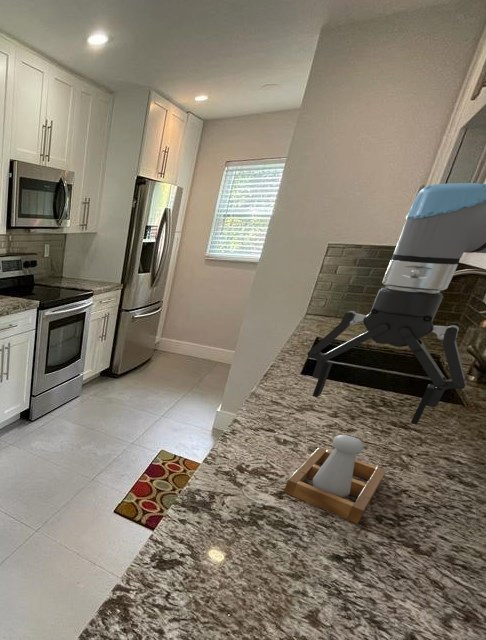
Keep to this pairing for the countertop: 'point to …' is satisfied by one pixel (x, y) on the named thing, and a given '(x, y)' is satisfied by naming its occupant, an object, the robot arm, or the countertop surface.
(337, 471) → the salt shaker
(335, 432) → the countertop surface
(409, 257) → the robot arm
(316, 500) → the frame
